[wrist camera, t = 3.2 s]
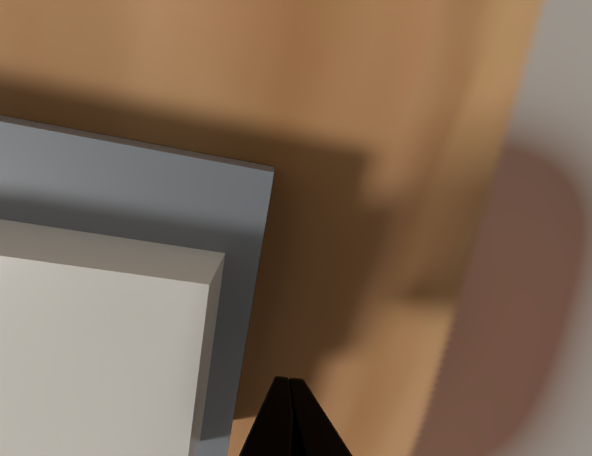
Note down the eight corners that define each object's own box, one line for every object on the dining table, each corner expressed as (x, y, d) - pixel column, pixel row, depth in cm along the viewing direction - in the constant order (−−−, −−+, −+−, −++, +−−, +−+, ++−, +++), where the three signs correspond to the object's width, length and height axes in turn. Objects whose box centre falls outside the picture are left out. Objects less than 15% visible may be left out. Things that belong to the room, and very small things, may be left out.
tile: (199, 441, 10) (181, 511, 8) (-59, 420, 9) (-151, 495, 7) (225, 253, 8) (209, 284, 6) (-92, 205, 7) (-225, 224, 5)
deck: (232, 421, 13) (220, 494, 11) (-104, 392, 12) (-227, 469, 9) (274, 166, 11) (274, 172, 8) (-164, 83, 9) (-373, 51, 6)
